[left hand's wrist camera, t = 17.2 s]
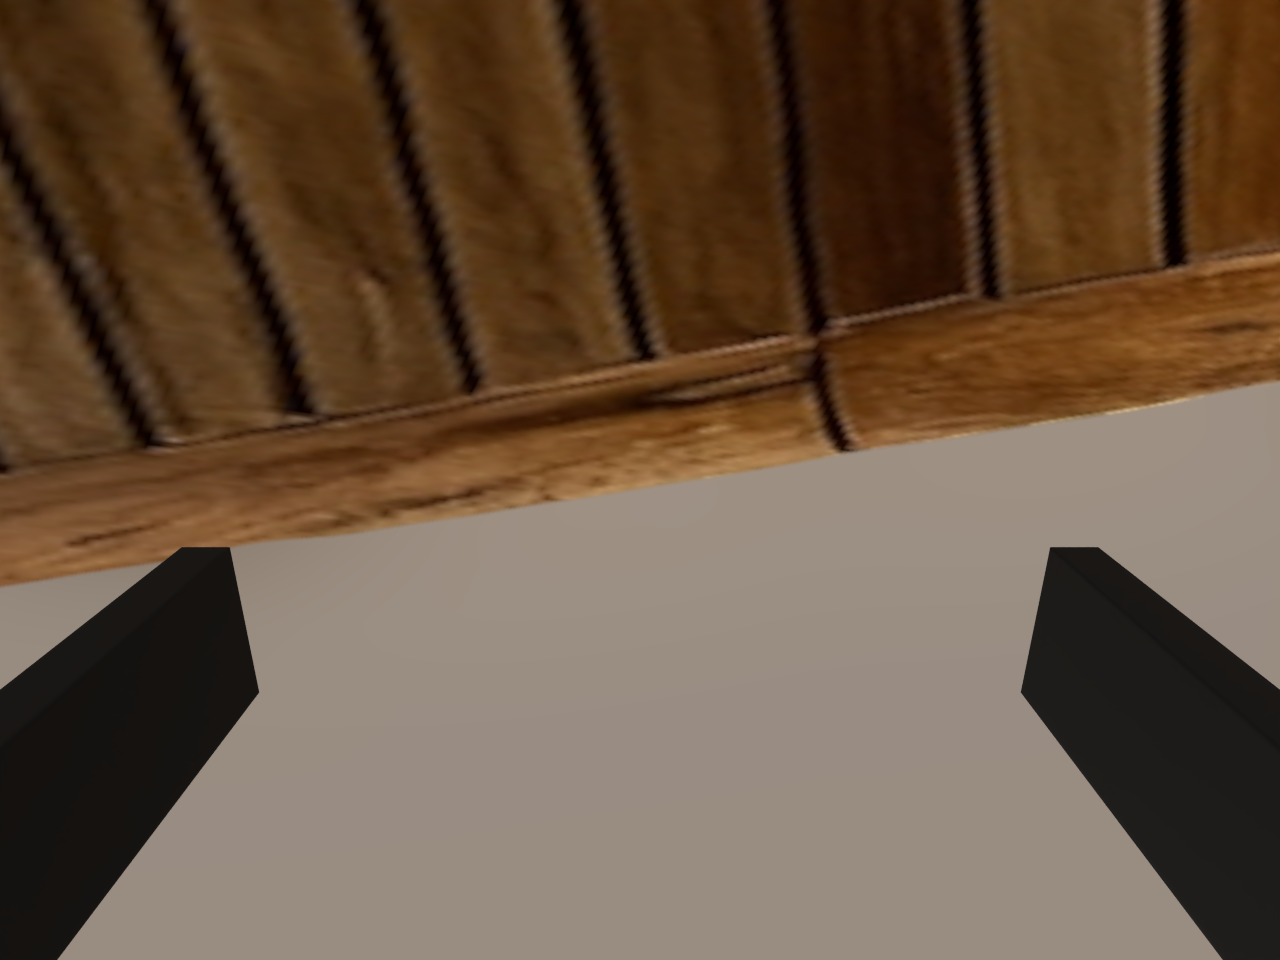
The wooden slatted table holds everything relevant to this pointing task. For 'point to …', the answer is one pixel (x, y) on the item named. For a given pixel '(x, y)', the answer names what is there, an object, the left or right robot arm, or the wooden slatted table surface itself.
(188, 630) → the left robot arm
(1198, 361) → the wooden slatted table surface
